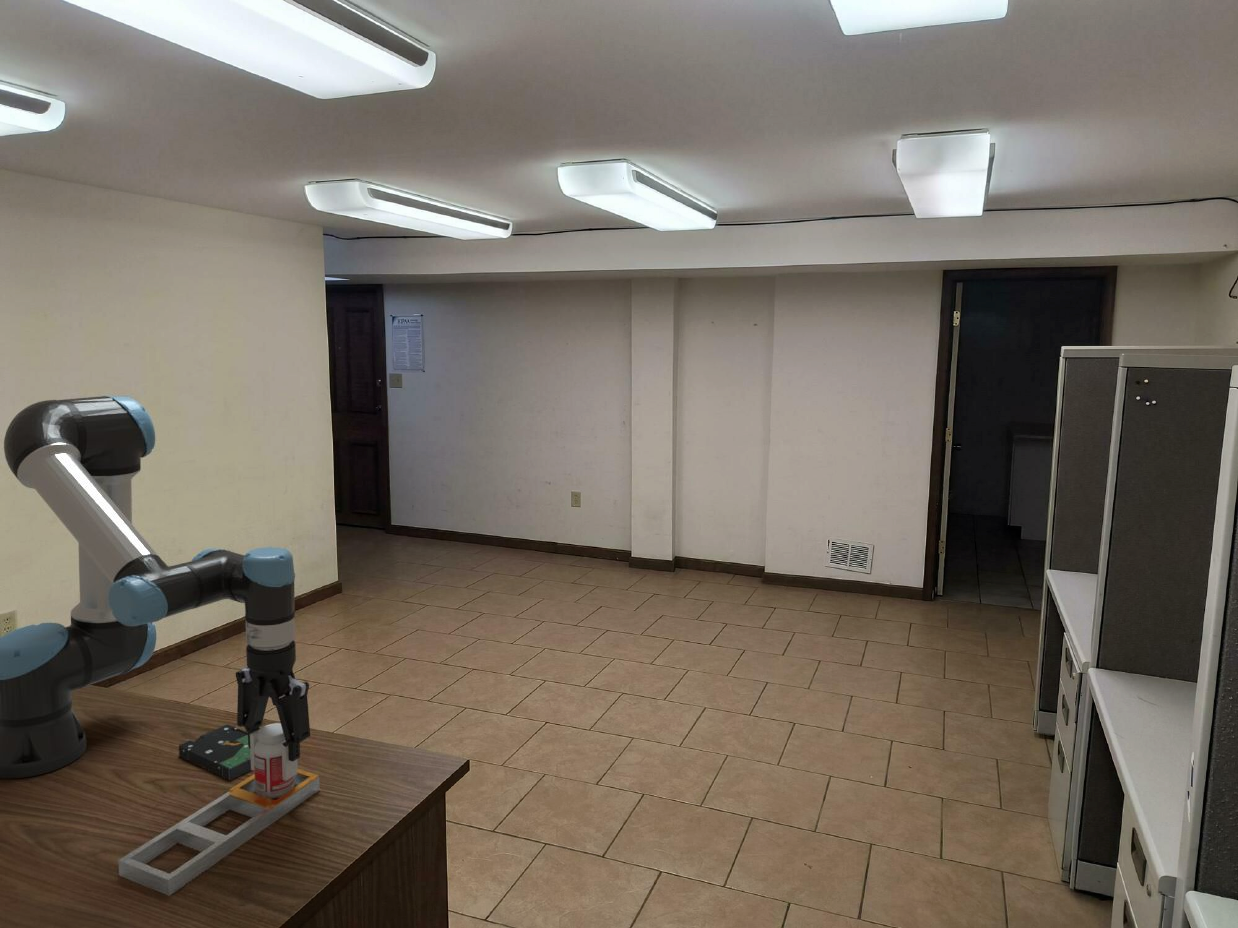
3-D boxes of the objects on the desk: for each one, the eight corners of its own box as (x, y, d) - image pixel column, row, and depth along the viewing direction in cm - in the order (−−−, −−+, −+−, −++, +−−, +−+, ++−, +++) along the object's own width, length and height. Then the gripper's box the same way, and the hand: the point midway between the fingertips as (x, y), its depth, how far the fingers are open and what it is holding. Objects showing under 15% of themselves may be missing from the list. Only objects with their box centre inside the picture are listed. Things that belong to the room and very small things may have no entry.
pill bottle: (299, 780, 146) (298, 721, 144) (287, 800, 140) (285, 738, 138) (263, 779, 146) (261, 720, 144) (249, 799, 140) (247, 737, 138)
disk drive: (177, 759, 155) (230, 783, 148) (176, 745, 154) (229, 768, 147) (227, 736, 164) (279, 757, 157) (227, 723, 163) (279, 743, 156)
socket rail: (119, 875, 122) (118, 858, 122) (274, 775, 150) (274, 761, 149) (169, 895, 119) (168, 877, 118) (319, 789, 146) (319, 775, 146)
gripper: (208, 638, 139) (214, 767, 143) (300, 661, 132) (302, 796, 136) (244, 624, 146) (248, 747, 150) (333, 645, 138) (334, 774, 143)
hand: (274, 770), depth 143 cm, fingers closed on pill bottle, 6 cm apart
